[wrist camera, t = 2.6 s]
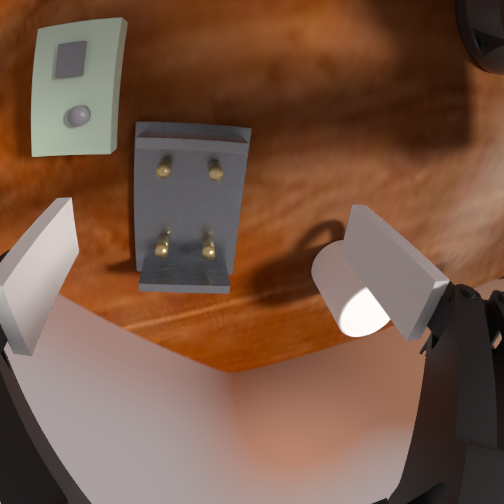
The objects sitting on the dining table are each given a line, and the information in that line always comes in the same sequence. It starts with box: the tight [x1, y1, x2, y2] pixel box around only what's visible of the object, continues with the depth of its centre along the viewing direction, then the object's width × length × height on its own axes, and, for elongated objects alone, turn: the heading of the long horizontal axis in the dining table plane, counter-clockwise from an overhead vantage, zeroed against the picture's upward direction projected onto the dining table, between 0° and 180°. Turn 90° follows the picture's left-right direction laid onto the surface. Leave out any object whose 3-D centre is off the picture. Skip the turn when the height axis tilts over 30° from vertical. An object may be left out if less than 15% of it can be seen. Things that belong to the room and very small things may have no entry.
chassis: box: [134, 121, 252, 293], centre depth 32 cm, size 18×12×6 cm, turn 172°
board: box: [31, 17, 128, 157], centre depth 20 cm, size 12×8×3 cm, turn 172°
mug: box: [311, 240, 390, 337], centre depth 38 cm, size 8×10×12 cm
